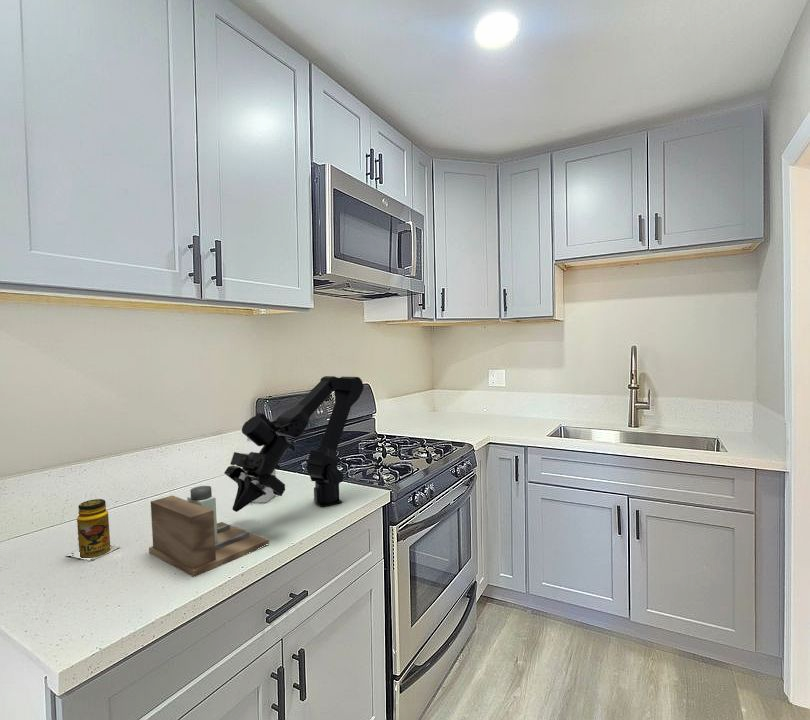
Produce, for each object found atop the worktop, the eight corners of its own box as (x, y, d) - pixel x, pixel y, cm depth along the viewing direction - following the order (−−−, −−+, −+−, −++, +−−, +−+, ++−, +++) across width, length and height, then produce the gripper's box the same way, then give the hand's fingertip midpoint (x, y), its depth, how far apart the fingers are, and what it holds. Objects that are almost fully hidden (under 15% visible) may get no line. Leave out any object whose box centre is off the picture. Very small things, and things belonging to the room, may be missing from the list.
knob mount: (221, 526, 123) (219, 481, 123) (268, 544, 111) (266, 494, 110) (149, 552, 109) (146, 501, 108) (193, 576, 96) (190, 519, 96)
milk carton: (265, 503, 140) (262, 440, 139) (243, 502, 141) (240, 439, 140) (276, 495, 147) (274, 435, 146) (255, 494, 148) (253, 435, 147)
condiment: (90, 561, 105) (87, 508, 104) (65, 556, 108) (61, 505, 108) (120, 548, 112) (117, 498, 111) (96, 543, 115) (93, 494, 114)
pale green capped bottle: (205, 538, 112) (203, 484, 112) (219, 544, 108) (216, 488, 108) (187, 544, 109) (184, 489, 108) (201, 551, 105) (198, 493, 104)
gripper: (228, 435, 124) (190, 488, 116) (272, 442, 112) (233, 502, 104) (256, 457, 130) (222, 509, 122) (300, 467, 119) (265, 524, 111)
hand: (234, 510), depth 115 cm, fingers closed
